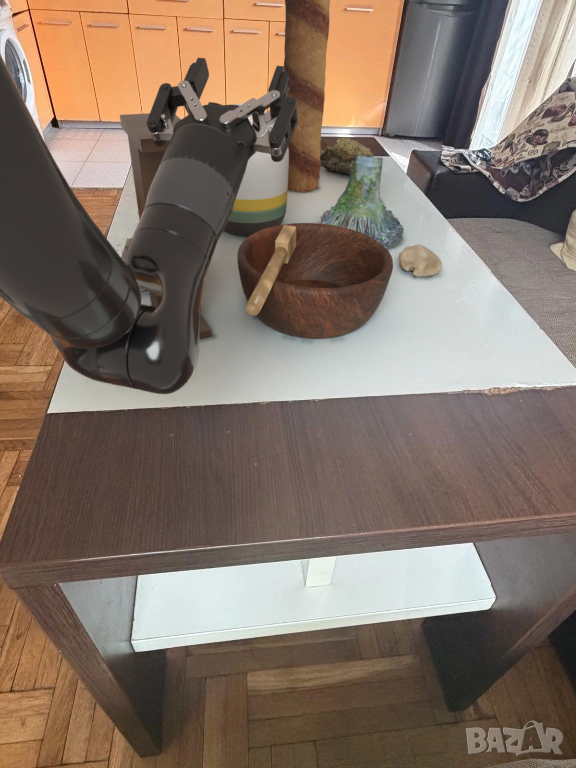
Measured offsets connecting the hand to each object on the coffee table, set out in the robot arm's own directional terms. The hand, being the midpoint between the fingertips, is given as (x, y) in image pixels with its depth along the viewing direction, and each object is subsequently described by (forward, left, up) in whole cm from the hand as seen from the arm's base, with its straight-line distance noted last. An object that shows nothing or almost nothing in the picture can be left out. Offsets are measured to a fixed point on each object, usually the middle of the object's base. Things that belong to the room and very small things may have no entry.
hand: (242, 69), depth 55 cm
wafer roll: (+16, +76, -38) cm, 86 cm away
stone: (+35, +28, -38) cm, 58 cm away
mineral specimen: (+31, +87, -38) cm, 100 cm away
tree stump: (+27, +47, -38) cm, 66 cm away
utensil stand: (-10, +8, -37) cm, 40 cm away
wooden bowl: (+12, +14, -38) cm, 42 cm away
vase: (+2, +49, -38) cm, 62 cm away
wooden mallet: (+4, +7, -26) cm, 27 cm away
